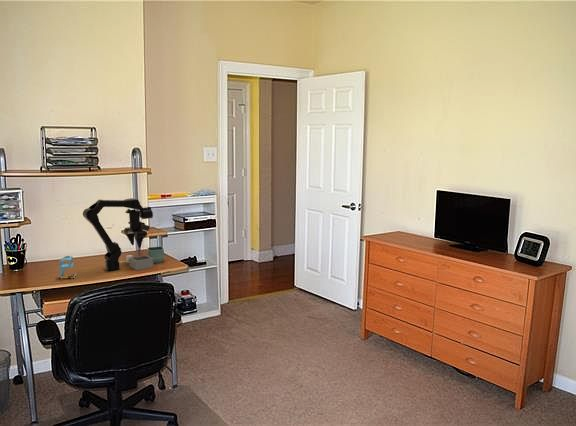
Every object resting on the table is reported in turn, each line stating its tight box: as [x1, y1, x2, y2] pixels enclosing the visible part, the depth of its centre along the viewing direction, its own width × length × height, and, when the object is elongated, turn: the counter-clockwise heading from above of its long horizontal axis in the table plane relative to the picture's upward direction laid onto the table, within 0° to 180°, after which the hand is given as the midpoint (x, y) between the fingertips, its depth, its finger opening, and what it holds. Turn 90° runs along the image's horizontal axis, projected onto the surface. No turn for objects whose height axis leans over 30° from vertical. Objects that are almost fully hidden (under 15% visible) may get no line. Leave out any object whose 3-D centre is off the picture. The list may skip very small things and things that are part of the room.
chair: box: [58, 255, 77, 278], centre depth 281 cm, size 8×8×12 cm
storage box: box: [129, 254, 154, 271], centre depth 299 cm, size 10×10×6 cm
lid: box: [121, 254, 134, 264], centre depth 311 cm, size 11×11×5 cm
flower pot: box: [147, 245, 165, 264], centre depth 311 cm, size 9×9×9 cm
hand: (136, 246), depth 302 cm, fingers open, 9 cm apart
